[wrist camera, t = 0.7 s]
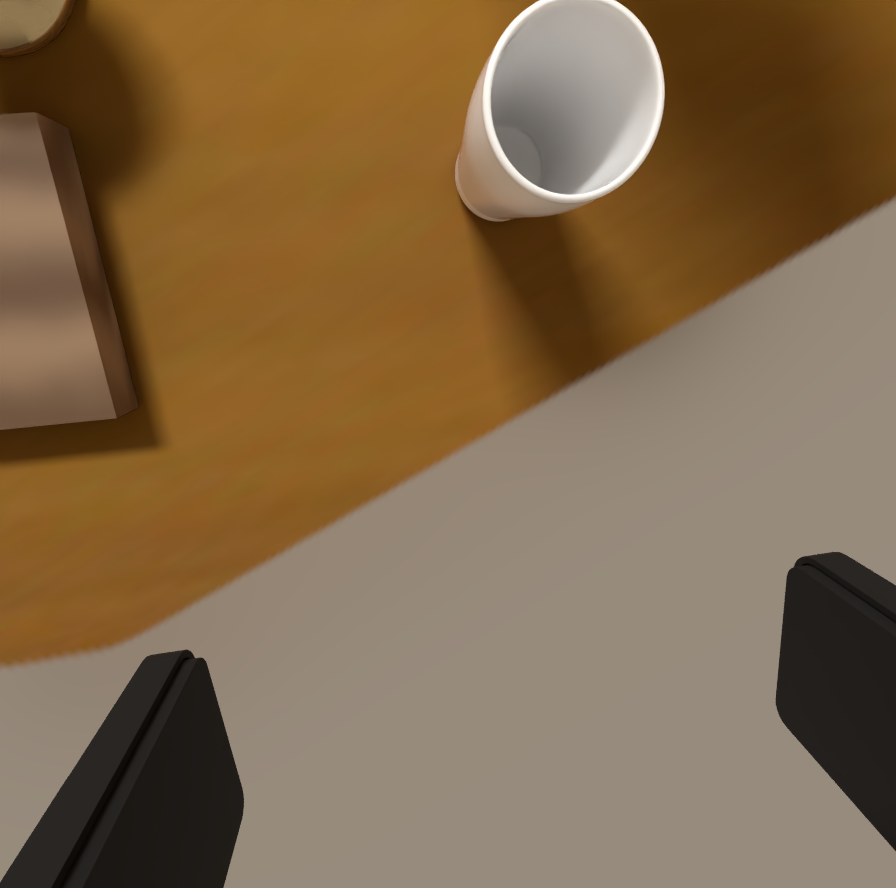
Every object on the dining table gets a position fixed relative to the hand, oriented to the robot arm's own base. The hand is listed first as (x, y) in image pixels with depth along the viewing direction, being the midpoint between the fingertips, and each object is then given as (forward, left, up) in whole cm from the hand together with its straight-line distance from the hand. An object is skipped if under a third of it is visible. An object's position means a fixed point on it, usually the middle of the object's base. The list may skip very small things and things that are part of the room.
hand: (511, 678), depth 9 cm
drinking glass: (-12, +6, -30) cm, 32 cm away
